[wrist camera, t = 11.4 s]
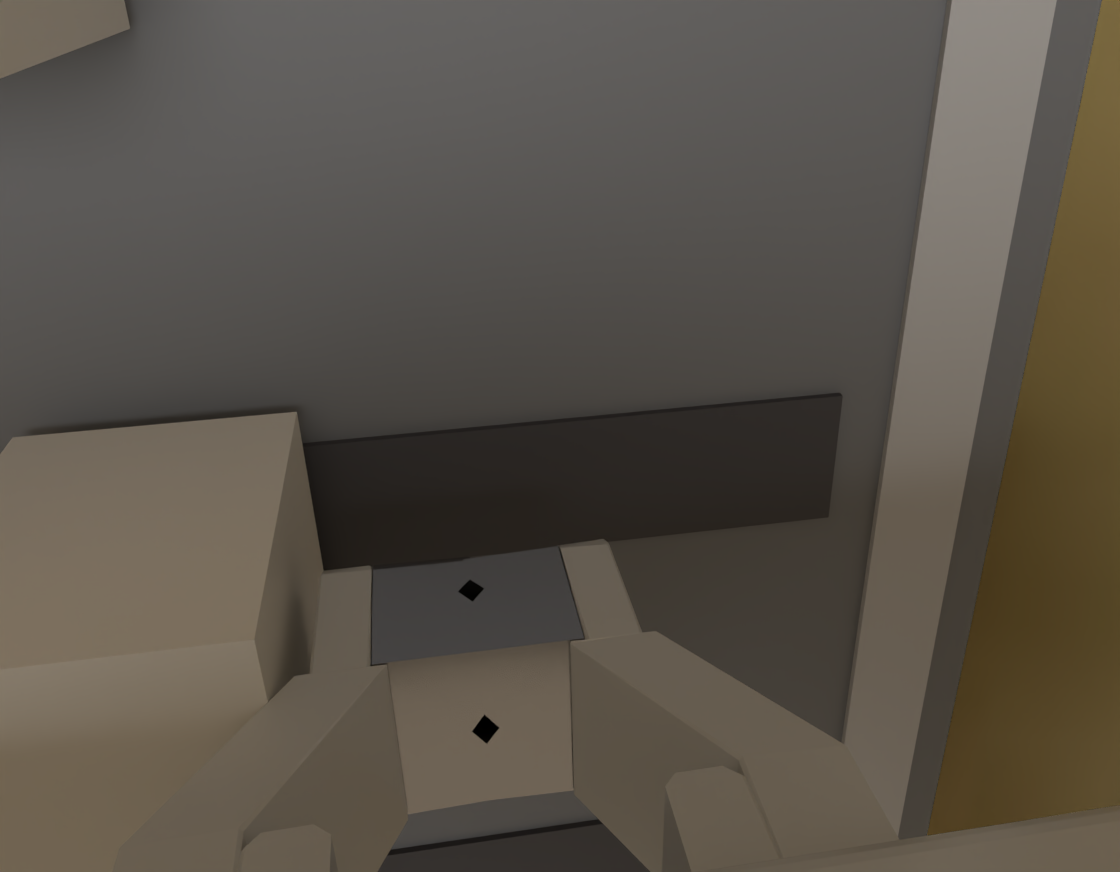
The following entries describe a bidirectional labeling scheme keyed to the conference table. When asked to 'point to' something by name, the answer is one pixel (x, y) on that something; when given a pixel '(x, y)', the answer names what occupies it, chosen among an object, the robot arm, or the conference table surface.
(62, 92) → the panel
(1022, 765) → the conference table surface
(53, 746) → the block
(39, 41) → the block
